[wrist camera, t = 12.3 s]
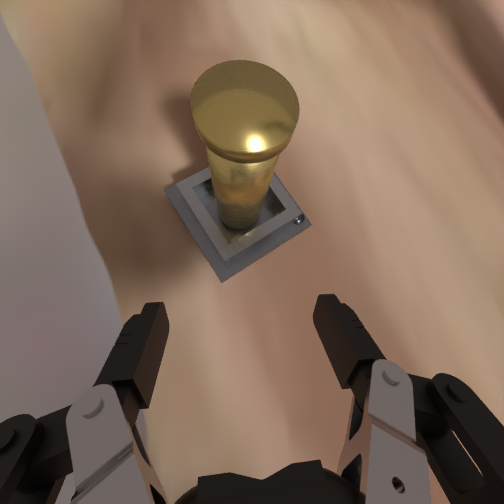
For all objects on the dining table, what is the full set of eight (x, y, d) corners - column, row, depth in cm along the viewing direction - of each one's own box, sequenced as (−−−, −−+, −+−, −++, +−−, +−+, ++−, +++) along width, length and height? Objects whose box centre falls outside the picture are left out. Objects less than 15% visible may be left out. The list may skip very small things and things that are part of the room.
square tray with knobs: (253, 149, 22) (255, 130, 19) (308, 227, 20) (319, 217, 18) (166, 194, 20) (156, 179, 17) (221, 282, 18) (220, 280, 16)
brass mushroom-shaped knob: (246, 178, 20) (260, 46, 9) (273, 216, 19) (320, 121, 9) (204, 200, 19) (169, 84, 9) (231, 241, 18) (228, 170, 8)
